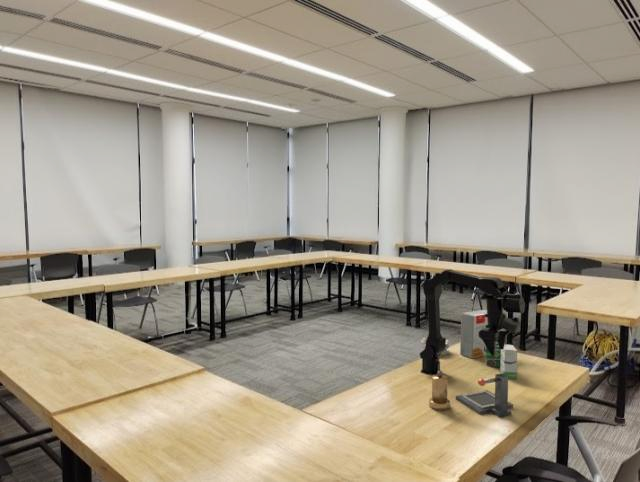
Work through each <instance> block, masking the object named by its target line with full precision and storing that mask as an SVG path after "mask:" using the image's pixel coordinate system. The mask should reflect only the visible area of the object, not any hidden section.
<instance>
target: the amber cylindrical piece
mask: <svg viewBox="0 0 640 482" xmlns="http://www.w3.org/2000/svg"><path fill="white" fill-rule="evenodd" d="M431 377H432V378H431V397H430V398H429V400H428V403H429V404H428V405H429V408H430V409H431V410H433V411H438V412H447V411H449V410H450V409H451V401H450V400H449V398H448V385H449V384H448V382H449V381H448V378H449V377H448V376H447V375H445V374H443V370H440V371H438V373H437V374H436V375H433V374H432V376H431Z"/></svg>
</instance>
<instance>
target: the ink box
mask: <svg viewBox="0 0 640 482" xmlns="http://www.w3.org/2000/svg"><path fill="white" fill-rule="evenodd" d="M499 369H500V374H501V373H502V374H505V375H507V376H508V380H509V379H511V380H512V379H513V380H517V378H518V376H517V374H518V350H517V349H516V347H515V346H514V345H513V344H507V343H506V344H505V345H504V349H501V364H500V367H499Z"/></svg>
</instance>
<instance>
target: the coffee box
mask: <svg viewBox="0 0 640 482" xmlns="http://www.w3.org/2000/svg"><path fill="white" fill-rule="evenodd" d="M505 344H506V345H507V339H506V340H505ZM485 360H486V362H485V364H486V365H485V366H487V367H488V366H489V367H495V368H500V364H501V349H500V347H499V344H498V341H496V342H495V354H494V355H491V354H490V352H489V350H488V348H487V347H486V356H485Z"/></svg>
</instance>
